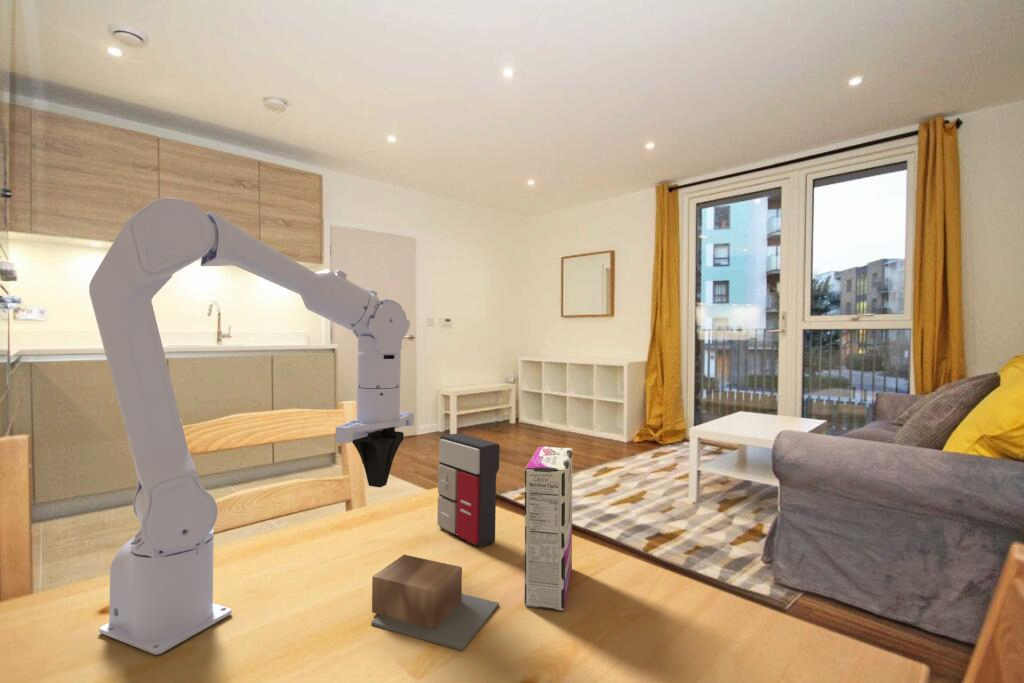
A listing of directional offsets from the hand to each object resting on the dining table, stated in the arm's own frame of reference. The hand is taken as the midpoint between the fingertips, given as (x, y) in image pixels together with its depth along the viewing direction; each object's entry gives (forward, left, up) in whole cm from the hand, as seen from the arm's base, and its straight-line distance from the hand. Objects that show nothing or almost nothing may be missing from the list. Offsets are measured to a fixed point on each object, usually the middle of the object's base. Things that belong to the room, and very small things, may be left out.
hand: (377, 485), depth 67 cm
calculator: (+7, +13, -11) cm, 18 cm away
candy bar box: (+24, +3, -11) cm, 26 cm away
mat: (+14, -8, -10) cm, 20 cm away
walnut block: (+8, -8, -8) cm, 14 cm away
